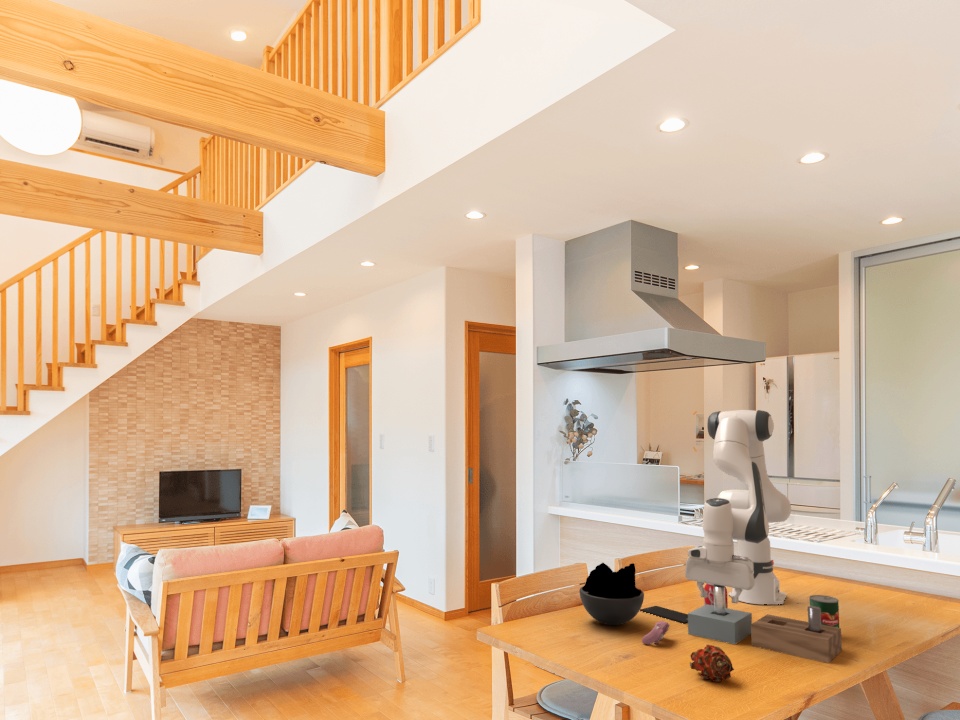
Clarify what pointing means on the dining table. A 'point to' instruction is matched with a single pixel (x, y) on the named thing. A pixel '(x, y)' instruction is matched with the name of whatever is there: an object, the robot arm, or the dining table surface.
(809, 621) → the dark grey rounded rod
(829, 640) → the rack
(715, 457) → the robot arm
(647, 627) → the dining table surface
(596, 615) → the coal bowl
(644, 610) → the cell phone
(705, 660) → the dragon fruit
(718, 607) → the long rounded cylinder
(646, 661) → the dining table surface
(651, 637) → the pink curved piece
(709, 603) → the soda can
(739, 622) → the socket block
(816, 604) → the canned tomato
